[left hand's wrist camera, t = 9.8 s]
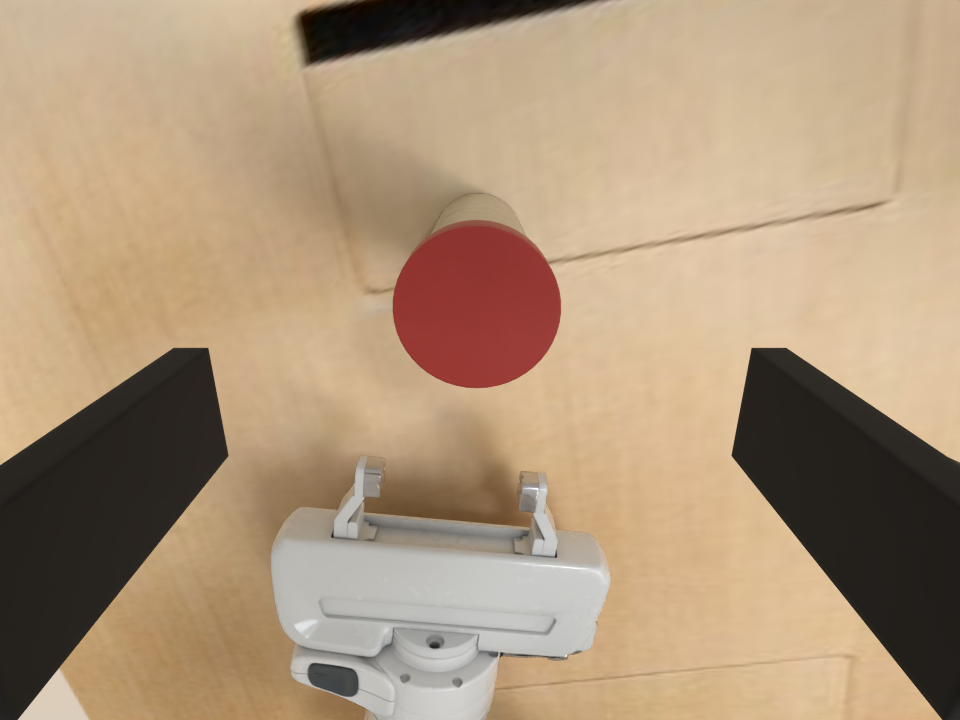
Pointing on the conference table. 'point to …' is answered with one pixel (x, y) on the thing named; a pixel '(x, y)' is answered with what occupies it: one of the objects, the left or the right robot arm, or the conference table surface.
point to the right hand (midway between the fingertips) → (453, 469)
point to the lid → (476, 304)
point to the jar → (478, 212)
